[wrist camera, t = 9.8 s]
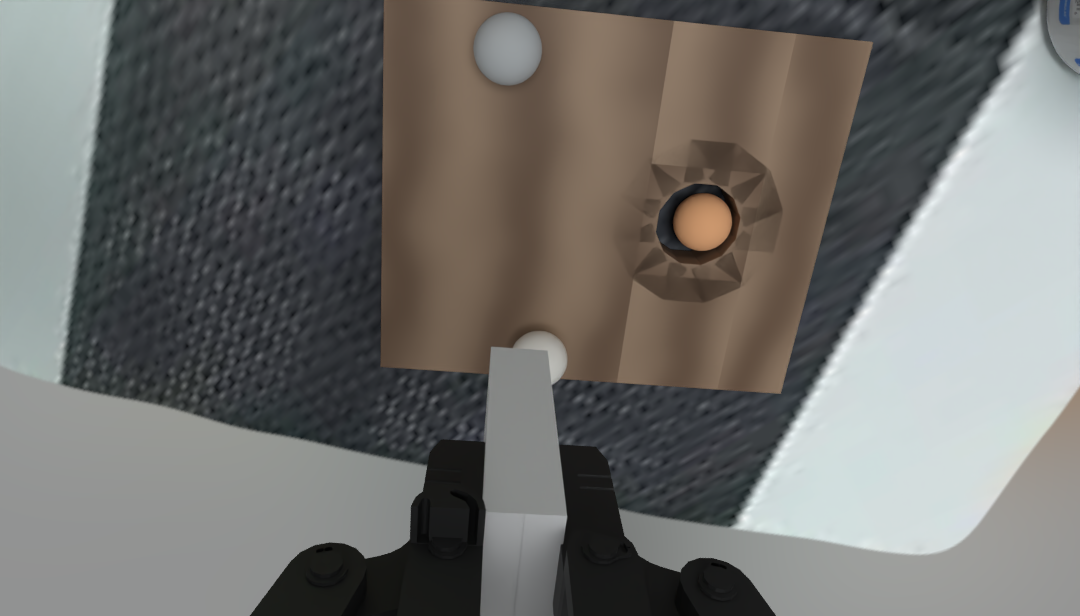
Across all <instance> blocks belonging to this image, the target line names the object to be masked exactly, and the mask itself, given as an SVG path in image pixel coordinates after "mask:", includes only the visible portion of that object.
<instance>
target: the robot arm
mask: <svg viewBox="0 0 1080 616" xmlns="http://www.w3.org/2000/svg"><path fill="white" fill-rule="evenodd" d="M410 528H411V529H410V540H409V541H408V542H407V543H406V544H405V545H404V546H402V547H401V548H399V549H397V550H395V551H393V552H391V553H388V554H385V555H381V556H377V557H372V558H367V559H365V558H364V556H363V555H362V554H361V553H360V552H359V551H358V550H357V549H356V548H354V547H351V546H349V545H346V544H342V543H325V544H320V545H315V546H313V547H310V548H308V549H306V550H304V551H302V552H300V553H299V554H298V555H297V556H296V557H295V558H294V559H293V560H292V561H291V562H290V563H289V564H288V566H287V567H286V568H285V570H284V571H283V572H282V574H281V575H280V576H279V578H278V579H277V580H276V582H275V583H274V585H273V586H272V587H271V588H270V590H269V591H268V593H267V594H266V595H265V596H264V598H263V599H262V600H261V602H260V603H259V604H258V606H257V607H256V608H255V610H254V611H253V612H252V614H251V615H250V616H553V614H554V616H776V615H775V614H774V612H773V611H772V610H771V608H770V607H769V605H768V604H767V603H766V601H765V600H764V599H763V597H762V596H761V595H760V593H759V592H758V590H757V589H756V588H755V586H754V585H753V584H752V582H751V581H750V580H749V579H748V578H747V577H746V576H745V575H744V574H743V573H742V572H741V571H740V570H739V569H737V568H736V567H734V566H732V565H731V564H729V563H727V562H724V561H721V560H717V559H714V558H698V559H695V560H692V561H689V562H688V563H687V564H686V565H685V566H684V567H683V568H682V569H681V573H680V572H677V571H673V570H670V569H667V568H663V567H660V566H657V565H655V564H652V563H650V562H648V561H646V560H645V559H643V558H641V557H640V556H638V553H637V551H636V549H635V547H634V545H633V544H632V542H630V541H629V540H628V539H627V538H626V537H625V536H624V533H623V528H622V524H621V519H620V514H619V510H618V505H617V501H616V496H615V492H614V487H613V483H612V479H611V474H610V469H609V465H608V461H607V459H606V458H605V457H604V456H603V455H602V454H601V452H600V451H599V450H598V449H597V448H596V447H590V446H573V445H559V443H558V434H557V426H556V417H555V409H554V400H553V392H552V383H551V375H550V366H549V358H548V351H547V350H532V349H518V348H503V347H491V354H490V367H489V380H488V393H487V406H486V419H485V432H484V442H477V441H460V440H441V441H440V442H439V443H438V444H437V445H436V446H435V447H434V448H433V449H432V451H431V452H430V455H429V460H428V466H427V471H426V477H425V483H424V488H423V492H422V493H420V494H419V495H418V496H417V497H416V498H415V500H414V501H413V503H412V505H411V526H410Z"/></svg>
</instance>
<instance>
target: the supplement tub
mask: <svg viewBox="0 0 1080 616" xmlns="http://www.w3.org/2000/svg"><path fill="white" fill-rule="evenodd" d="M1047 26H1048V31H1049V35H1050V38H1051V41H1052V44H1053V46H1054V48H1055V50H1056V52H1057V53H1058V55H1059V56H1060V57H1061V59H1062V60H1063V61H1064V62H1065V63H1066V64H1067V65H1068V66H1069V67H1070V68H1072V69H1073V70H1074V71H1075V72H1077V73H1079V74H1080V0H1047Z"/></svg>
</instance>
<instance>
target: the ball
mask: <svg viewBox="0 0 1080 616" xmlns="http://www.w3.org/2000/svg"><path fill="white" fill-rule="evenodd" d="M673 227H674V231H675V234H676V236H677V238H678V239H679V241H680V242H681V243H682V244H683V245H685V246H686V247H688V248H690V249H693V250H697V251H707V250H711V249H713V248H716V247H718V246H719V245H720V244H722V243H723V242H724V241H725V239H726V238H727V237H728V235H729V233H730V230H731V227H732V216H731V212H730V209H729V207H728V206H727V204H726V203H725V202H724V201H723V200H722V199H720V198H719V197H717V196H715V195H712V194H708V193H698V194H694V195H691V196H689V197H688V198H686V199H685V200H683V201H682V202H681V203H680V205H679V206H678V207H677V209H676V211H675V214H674V218H673Z"/></svg>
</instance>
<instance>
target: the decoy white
mask: <svg viewBox="0 0 1080 616" xmlns="http://www.w3.org/2000/svg"><path fill="white" fill-rule="evenodd" d="M513 348H518V349H532V350H547V351H548V358H549V366H550V375H551V383H552V385H553V384H554V383H556V382H557V381H558V380H559V379H560V378H561V377H562V375H563V374H564V372H565V370H566V367H567V352H566V349H565V347H564V345H563V343H562V342H561V341H560V339H558V338H557V337H556V336H555V335H553V334H551V333H549V332H546V331H532V332H529V333H527V334H525V335H523V336H522V337H520V338H519V339H518V340H517V341H516V343H515V344H514V346H513Z"/></svg>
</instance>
